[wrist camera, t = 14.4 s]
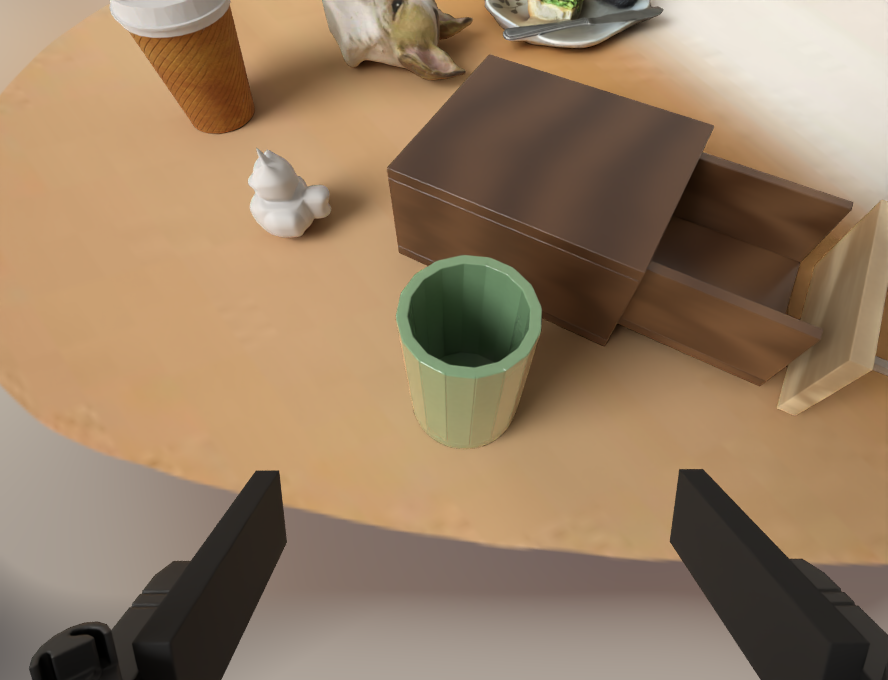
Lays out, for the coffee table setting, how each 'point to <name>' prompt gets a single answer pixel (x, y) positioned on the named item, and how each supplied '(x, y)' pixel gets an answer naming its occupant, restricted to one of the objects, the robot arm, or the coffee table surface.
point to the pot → (467, 347)
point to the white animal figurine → (284, 197)
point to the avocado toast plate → (568, 20)
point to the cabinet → (546, 187)
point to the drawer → (766, 283)
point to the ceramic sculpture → (395, 34)
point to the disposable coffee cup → (193, 57)
